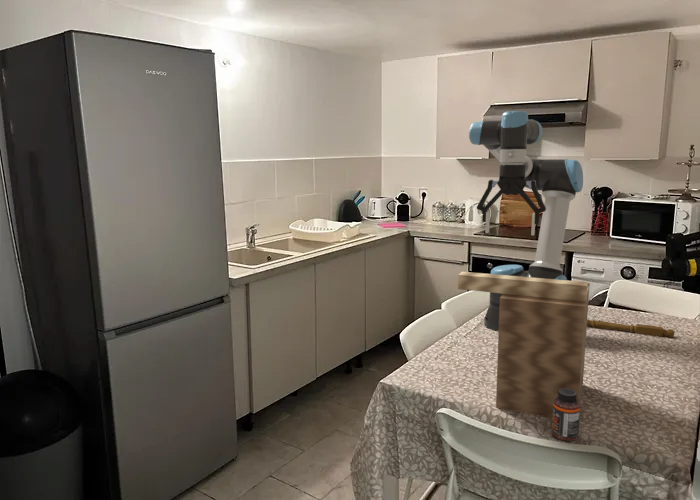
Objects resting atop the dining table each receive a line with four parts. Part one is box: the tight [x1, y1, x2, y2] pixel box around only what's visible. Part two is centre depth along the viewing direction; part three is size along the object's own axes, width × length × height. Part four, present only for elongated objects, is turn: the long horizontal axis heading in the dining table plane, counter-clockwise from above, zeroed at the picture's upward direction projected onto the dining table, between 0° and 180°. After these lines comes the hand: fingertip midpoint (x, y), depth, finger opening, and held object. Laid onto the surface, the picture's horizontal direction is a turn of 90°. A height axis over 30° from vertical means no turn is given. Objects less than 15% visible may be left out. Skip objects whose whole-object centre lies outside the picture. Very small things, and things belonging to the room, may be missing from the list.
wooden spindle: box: [587, 318, 675, 338], centre depth 202 cm, size 3×3×30 cm
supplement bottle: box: [551, 388, 581, 442], centre depth 131 cm, size 6×6×11 cm
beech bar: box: [457, 271, 589, 302], centre depth 144 cm, size 32×4×4 cm, turn 64°
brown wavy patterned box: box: [495, 282, 591, 419], centre depth 150 cm, size 20×24×31 cm
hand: (509, 233), depth 170 cm, fingers open, 13 cm apart
